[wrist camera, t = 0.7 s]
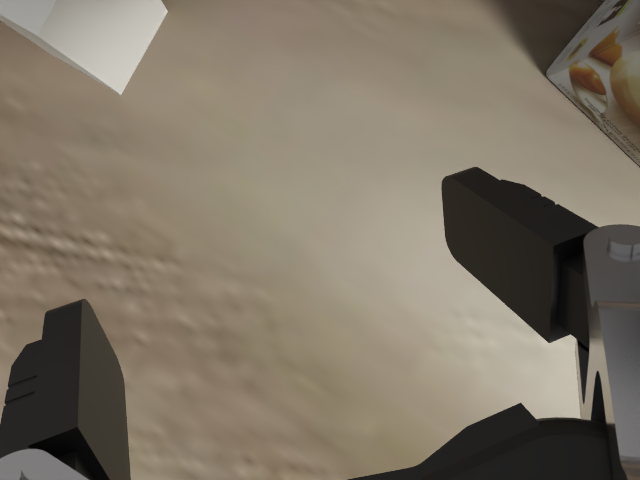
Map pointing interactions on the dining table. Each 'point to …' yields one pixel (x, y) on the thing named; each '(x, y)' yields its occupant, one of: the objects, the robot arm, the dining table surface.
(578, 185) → the dining table surface
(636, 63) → the coffee box
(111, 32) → the block
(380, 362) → the dining table surface
